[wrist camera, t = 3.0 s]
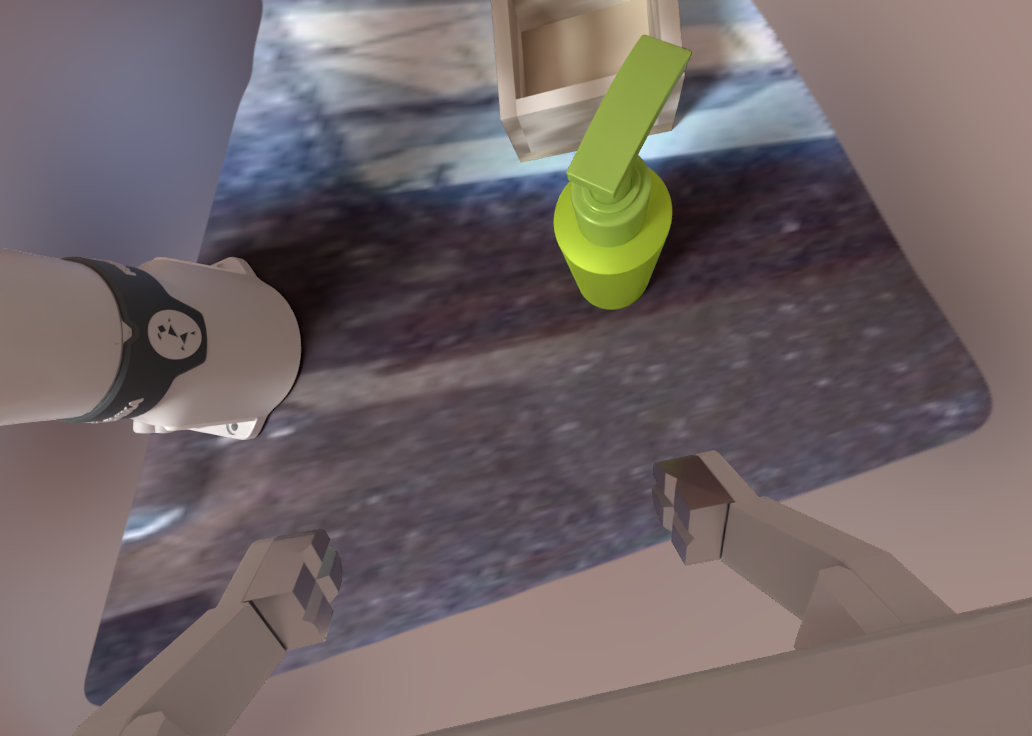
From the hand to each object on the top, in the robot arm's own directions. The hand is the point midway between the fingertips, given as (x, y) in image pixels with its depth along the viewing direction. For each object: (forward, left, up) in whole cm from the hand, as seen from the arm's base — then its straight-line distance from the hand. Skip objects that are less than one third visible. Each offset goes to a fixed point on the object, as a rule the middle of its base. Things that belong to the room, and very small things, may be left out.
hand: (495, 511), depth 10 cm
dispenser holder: (+3, +27, -25) cm, 37 cm away
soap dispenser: (+4, +11, -25) cm, 28 cm away
